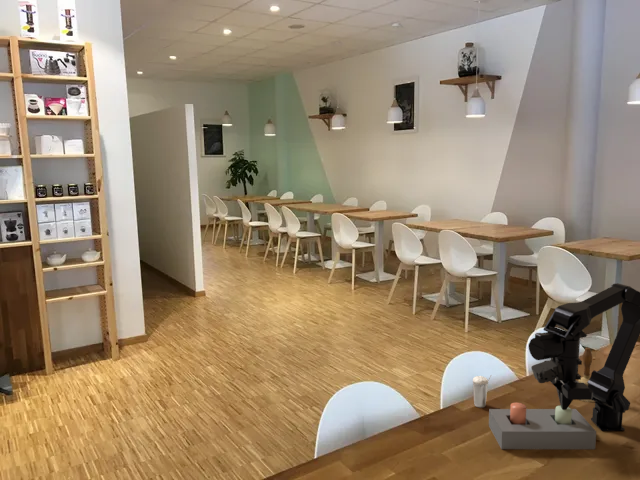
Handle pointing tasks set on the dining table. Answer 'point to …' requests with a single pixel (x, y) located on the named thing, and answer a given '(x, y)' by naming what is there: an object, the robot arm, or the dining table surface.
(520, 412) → the terracotta plug
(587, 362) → the hand bell
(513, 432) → the console
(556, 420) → the sage plug
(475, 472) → the dining table surface
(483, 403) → the milkshake
